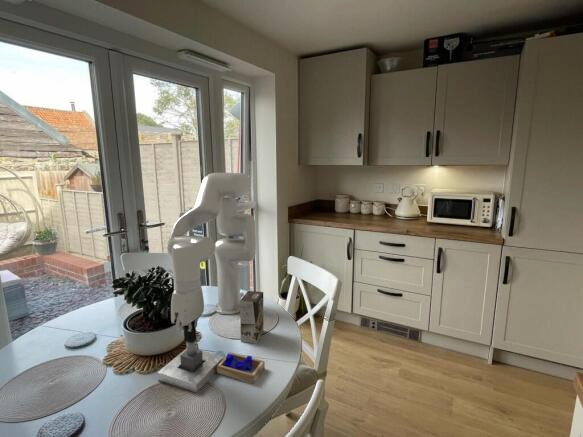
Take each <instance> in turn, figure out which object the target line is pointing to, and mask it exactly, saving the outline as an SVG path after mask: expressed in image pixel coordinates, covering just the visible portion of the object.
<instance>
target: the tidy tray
mask: <svg viewBox="0 0 583 437" xmlns="http://www.w3.org/2000/svg"><path fill="white" fill-rule="evenodd" d="M228 354H232V355H233V358H234V359H235V360H236V361H238V362H244V361H245V360H246V358H247V356H246V355H241V354H239V353H234V352H228ZM225 363H226V356H225V357H224V359H223V360H222V361H221V362H220V363H219V364H218V365H217V371H216V373H217V374H219V375H222V376H225V377H230V378H233V379H236V380H238V381H239V380H240V381H243V382H247V383H250V384H255V382H256V381H257V380H258V378H259V377H260V375H261V374H262V373H263V372H264V370H265V365H266V364H265V360H261V359H258V358H253V357H252V368H255V370H254V371H253V372H252V373H250V372H246V371H245V370H237V369H233V368H229V367H226V366H224V364H225Z"/></svg>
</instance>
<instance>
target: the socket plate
mask: <svg viewBox="0 0 583 437" xmlns="http://www.w3.org/2000/svg"><path fill="white" fill-rule="evenodd" d="M186 350H187V347H186V348H185V349H184V350H183V351H182V352H180V353H178V355H177V356H175V357H174V358H173V359H172V360H171V361H170V362H168V363H167V364H166V365H165V366H164V367H162V368H161V369H160V370H158V371H157V381H159V382H160V381H161V382H163V383H166V384H170V385H171V386H175V387H178V388H182V389H186V390H187V391H188V390H189V391H190V392H194V393H198V392H199V390H200V389H201V388H203V386H204V385H205V384H206V383H207V382H208V381H209V380H210V379H211V378H212V377H213V376H214V374H216V373H217V365H218V364H219V363H220V362H221V361H222V360H223V359H224V358H225V357H224V356H223V355H219V354H215V353H211V352H208V351H205V350H202V358H203V364H202V365H201V366H200V367H199V368H198V369H197V370H196V371H195V372H194V373H193V372H189V371H186V370H183V369H181V359H180V355H181V354H183V353H184V352H185V351H186Z"/></svg>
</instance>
